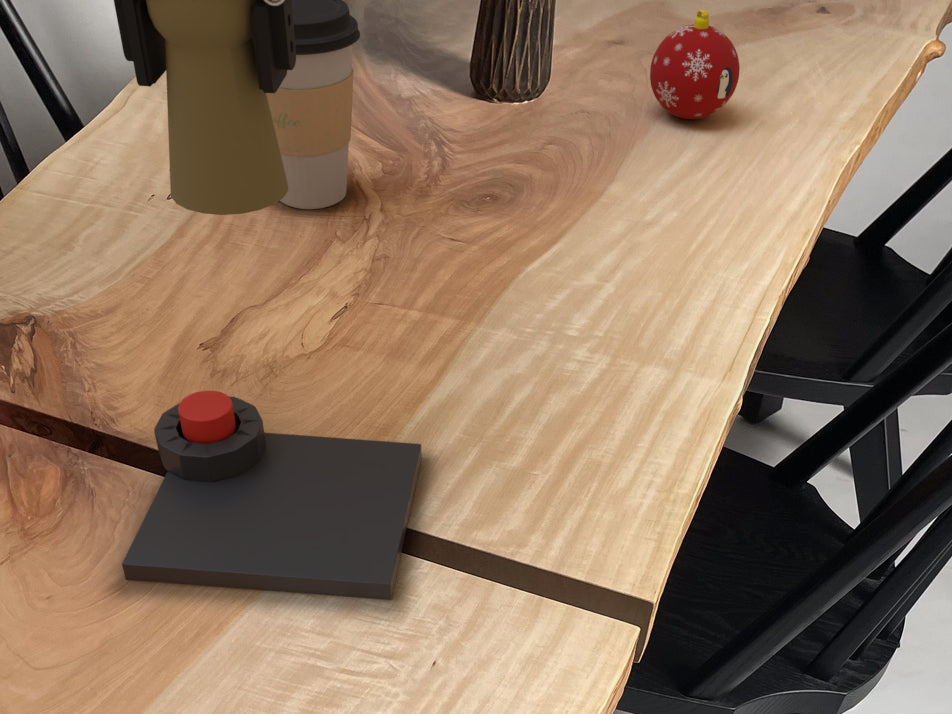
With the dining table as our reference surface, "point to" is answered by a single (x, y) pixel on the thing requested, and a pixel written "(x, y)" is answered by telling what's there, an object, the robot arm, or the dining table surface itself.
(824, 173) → the dining table surface
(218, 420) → the scale button
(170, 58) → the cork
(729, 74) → the christmas ornament
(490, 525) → the dining table surface
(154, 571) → the dark grey button base
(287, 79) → the coffee cup
